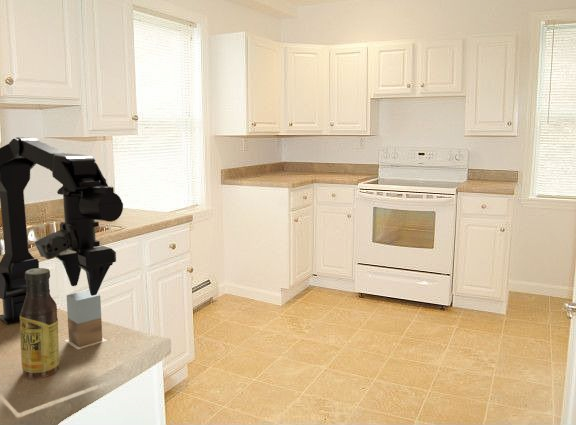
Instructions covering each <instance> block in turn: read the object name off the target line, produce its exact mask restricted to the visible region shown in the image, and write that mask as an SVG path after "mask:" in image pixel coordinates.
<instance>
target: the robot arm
mask: <svg viewBox="0 0 576 425" xmlns="http://www.w3.org/2000/svg"><path fill="white" fill-rule="evenodd" d="M36 165H39V166H41V167H43V168H45V169H46V170H50V172H52V173H51V174H52V177H53V178H54V179H56V181H57V182H59V183H60V184H62V186H61V187H60V188H58V190H57V191H56V193H57V195H60V196H61V195H62V197H63V213H64V214H63V216H64V217H63V218H64V221H61V222H60V224H59V229H58V230H57V231H55V232H52V233H50V234H48V235H46V236H44V237H42V238H39V239H37V240H36V241H35V242H34V245H35V247H36V249H37V251H38V252H39V255H40V257H42V258H45V259H47V260H51V259H54V258H56V259H57V260H59V261H60V262H61V263H62V265H63V267H64V269H65V273H66V274H67V278H68V280H69V284H70V285H71V287H77V285H78V283H79V279H80V276H81V271H82V270H83V271H84V272H85V273H86V280H87V285H88V289H89V290H90V294H91V295H92V296H93V295H96V294H98V293H99V290H100V288H101V286H102V283H103V281H104V279H105V276H107V273H108V271H109V269H110V267H111V266H113V264H114V263H116V262H117V252H116V251H115V250H114V249H113V248H112V247H109V246H106V245H101V244H100V242H101V241H99V240H97V239H96V238H97V237H96V228H97V227H100V226H99V225H100V224H99V221H101V222H102V221H103V222H109V223H110V222H111V223H112V222H116V221H117V220H118V219H119V218H120V217H121V215H122V214H123V210H124V203H123V201H122V199H121V197H120V196H119V194H117V193H115V188H114V186H109V185H108V182H107V179H106V178H105V176H104V175H103V173H102V171H101V170H100V168H99V165H98V163H96V160H95V158H94V157H93V156H91V155H85V154H79V153H78V154H77V153H69V152H65V151H63V150H60V149H58V148H56V147H54V146H51V145H49V144H47V143H44V142H42V141H40V140H39V139H38V138H35V137H31V136H30V137H19V136H18V137H15V138H12V139H11V140H10V142H8V144H5V145H4V146H2V147H0V210H1V211H0V212H1V225H2V233H3V246H4V254H3V256H2V258H1V259H0V299H1V300H2V310H3V314H0V320H1V321H3V322H4V323H5V324H7V325H9V324H13V323H17V322H19V323H20V313H21V310H22V307H23V304H24V300H25V297H26V292H27V288H26V280H25V272H26V271H27V270H30V269H35V268H40V262H39V259H38V258H35V257H34V256H33V255H32V254H31V253H30V251H29V242H28V241H29V240H28V230H27V229H28V228H27V216H26V206H25V205H26V204H25V194H24V193H25V192H24V191H25V189H26V187H27V185H28V184H29V182H30V180H31V170H32V169H33V168H35V166H36Z"/></svg>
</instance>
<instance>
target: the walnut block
mask: <svg viewBox="0 0 576 425" xmlns="http://www.w3.org/2000/svg"><path fill="white" fill-rule="evenodd" d="M102 323H103V322H102V317H101V318H99V319H95V320H91V321H88V322H84V323H80V324H77V323H76V322H74V321H72V320H71V319H69V318H68V317H67V328H68V339H69V341H71V342H72V343H74V344H75V345H77V346H78V347H82V346H86V345H89V344H92V343H96V342H99V341H102V338H103V325H102Z"/></svg>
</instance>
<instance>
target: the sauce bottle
mask: <svg viewBox="0 0 576 425" xmlns="http://www.w3.org/2000/svg"><path fill="white" fill-rule="evenodd" d="M50 277H51V271H50V269H49V268H45V267H39V268H35V269H30V270H27V271H26V272H25V280H26V288H27V292H26V297H25V300H24V304H23V307H22V310H21V313H20V321H19V334H20V354H21V355H20V357H21V369H22V374H23V376H24V377H25V378H28V379H41V378H45V377H46V378H47V377H50V376H52V375H53V374H56V372H58V370H59V368H60V367H59V366H60V365H59V364H60V353H59V352H60V350H59V348H60V347H59V320H58V305H57V303H56V301H55V300H54V298H53V297H52V296H51V293H50V292H51V290H50Z"/></svg>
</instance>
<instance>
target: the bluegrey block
mask: <svg viewBox="0 0 576 425" xmlns="http://www.w3.org/2000/svg"><path fill="white" fill-rule="evenodd" d="M101 304H102V303H101V294H98V293H97V294H96V295H93V296H92V295H91V294H90V290H85V291H80V292H79V291H78V292H75V293H70V294H66V309H67V310H66V311H67V319H68V318H69V319H71V320H72V321H74V322H76V323H77V324H80V323H84V322H88V321H91V320H95V319H99V318H101V319H102V306H101Z"/></svg>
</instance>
